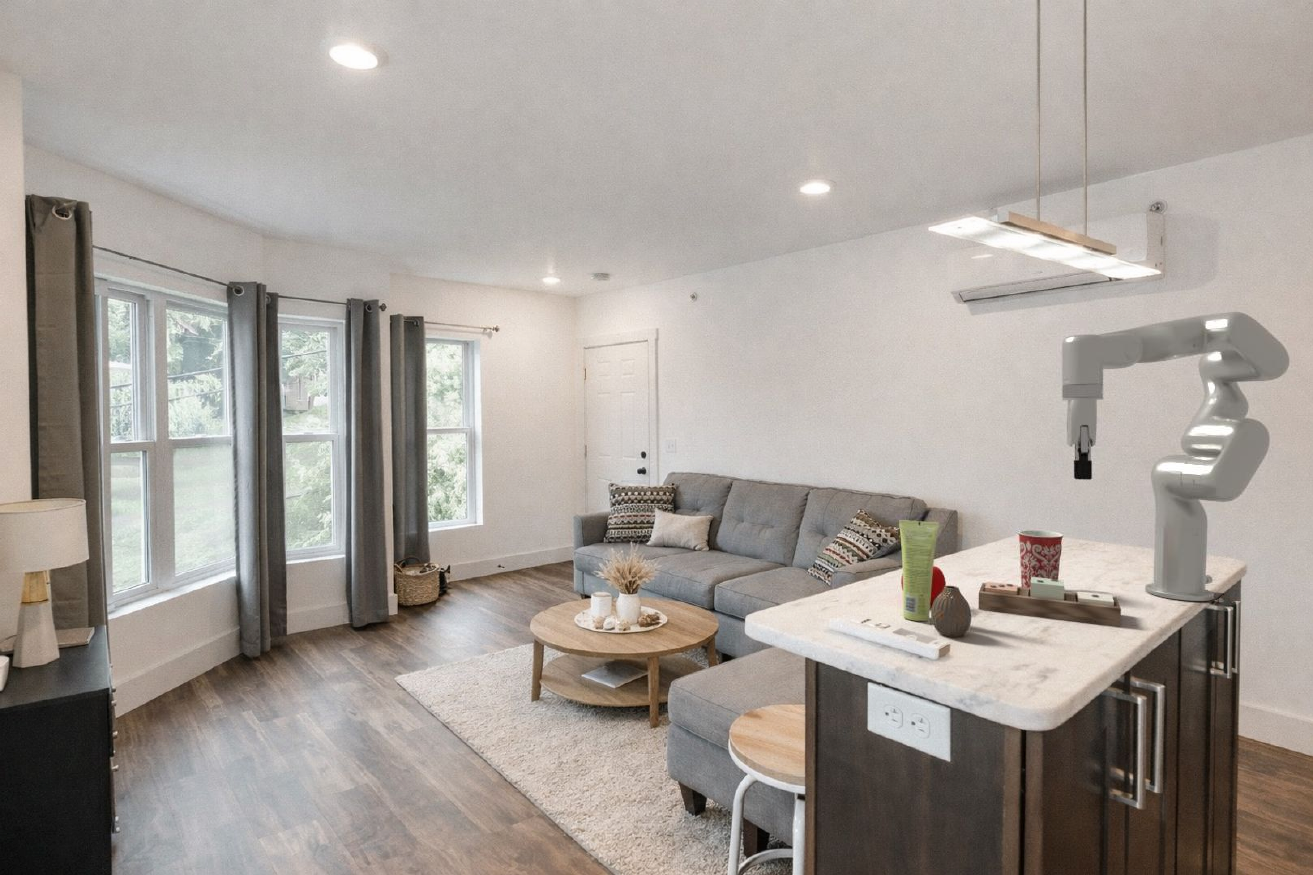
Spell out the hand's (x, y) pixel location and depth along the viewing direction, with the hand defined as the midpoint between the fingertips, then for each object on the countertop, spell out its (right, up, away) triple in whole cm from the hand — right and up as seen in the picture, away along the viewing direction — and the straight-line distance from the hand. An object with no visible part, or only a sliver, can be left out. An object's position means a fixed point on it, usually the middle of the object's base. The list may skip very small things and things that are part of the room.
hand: (1082, 478), depth 154 cm
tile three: (-18, -26, -1) cm, 32 cm away
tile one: (-3, -26, -10) cm, 28 cm away
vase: (-37, -28, -21) cm, 50 cm away
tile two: (-11, -24, -6) cm, 27 cm away
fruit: (-34, -27, +1) cm, 43 cm away
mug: (-2, -27, +12) cm, 30 cm away
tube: (-39, -27, -11) cm, 49 cm away
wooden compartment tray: (-11, -27, -5) cm, 30 cm away
